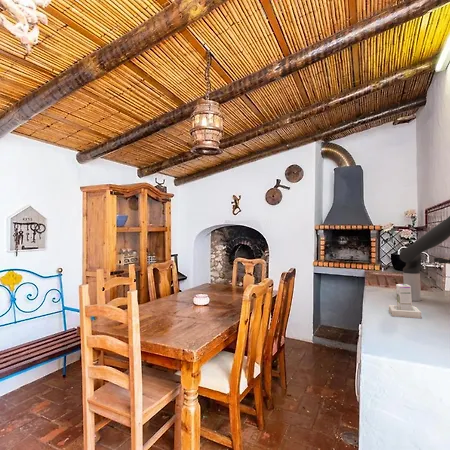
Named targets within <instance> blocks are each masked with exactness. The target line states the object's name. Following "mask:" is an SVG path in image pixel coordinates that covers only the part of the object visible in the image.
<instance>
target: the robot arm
mask: <svg viewBox="0 0 450 450" xmlns="http://www.w3.org/2000/svg"><path fill="white" fill-rule="evenodd" d="M449 238H450V215H449V216H448V217H447V218H445V219H444V220H443V221H441V222H440V223H438V224H437V225H435V226H434V227H432V228H431V229H430V230H428V231H427V232H426V233H425V234H424V235H422V236H421V237H419V239H418V240H416V241H415V242H413V243H412V244H410V245H409V246H406V247H405V248H403V249H402V250H401V251H400V252H399V259H400V260H401V261H402V262H404V263H405V266H404V267H403V268H402V277H403V284H407V285H409V286H411V298H412V302H420V301H422V293H421V270H422V255H421V254H422V253H423V252H425V251H428V250H430V249H432V248H434V247H436V246H439V245H440V244H442V243H444V242H445V241H446V240H448V239H449ZM433 262H434V263H438V264H448V265H450V256H446V257H445V256H444V257H434V258H433Z"/></svg>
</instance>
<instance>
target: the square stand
mask: <svg viewBox="0 0 450 450" xmlns="http://www.w3.org/2000/svg"><path fill="white" fill-rule="evenodd" d="M388 311H389V313H390V315H391V317H395V316H396V317H397V318H398V317H399V318H409V317H410V319H411V318H412V319H422V317H423V316H422V311H421V310H419V309H418V307H417V306H413V305H412V311H406V310H397V304H395V305H394V304H388Z"/></svg>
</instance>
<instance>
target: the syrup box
mask: <svg viewBox="0 0 450 450" xmlns="http://www.w3.org/2000/svg"><path fill="white" fill-rule="evenodd" d="M395 285H396V286H395V289H396V290H395V291H396V294H395V295H396V305H397V310H406V311H412V306H413V301H412V298H411V286H409V285H407V284H404V283H398V284H397V283H396V284H395Z"/></svg>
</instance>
